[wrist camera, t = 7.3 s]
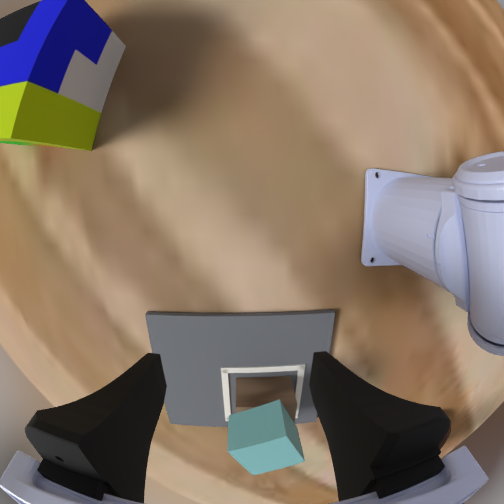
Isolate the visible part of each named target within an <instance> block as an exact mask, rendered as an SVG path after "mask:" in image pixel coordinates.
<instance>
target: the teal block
mask: <svg viewBox="0 0 504 504" xmlns="http://www.w3.org/2000/svg"><path fill="white" fill-rule="evenodd" d="M228 452H229V453H230V454H231V455H232V456H233V457H234V458H235V459H236V460H237V461H238V462H239V463H240V464H241V465H242V466H243V467H244V468H245V469H247V470H248V471H249V472H250V473H251V474H252V475H256V474H260V473H265V472H269V471H273V470H277V469H281V468H284V467H288V466H291V465H295V464H298V463H301V462H304V461H305V460H304V455H303V451H302V446H301V442H300V438H299V433H298V429H297V427H296V425H295V423H294V422H293V420H292V419H291V417H290V415H289V414H288V412H287V411H286V409H285V407H284V406H283V404H282V402H281V401H280V399H279V400H276V401H273V402H270V403H267V404H264V405H261V406H258V407H255V408H252V409H249V410H245V411H242V412H239V413H235V414H232V415H229V421H228Z"/></svg>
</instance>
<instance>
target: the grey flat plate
mask: <svg viewBox="0 0 504 504" xmlns="http://www.w3.org/2000/svg"><path fill="white" fill-rule="evenodd" d="M145 315H146V321H147V327H148V332H149V338H150V343H151V348H152V353H155V354H160V356H161V361H162V366H163V371H164V375H165V380H166V384H167V388H166V394H165V399H164V403H165V406H166V410H167V413H168V417H169V420H170V423H171V424H181V425H194V426H214V427H228V421H229V415H232V414H235V413H236V378H243V377H274V376H290V377H291V381H292V385H293V389H294V393H295V397H296V401H297V410H296V417H295V424H299V423H308V422H316V418H317V411H316V409H315V406H314V403H313V400H312V396H311V391H310V386H309V382H310V375H311V368H312V361H313V354H314V352H322V351H327V352H328V353H329V351H330V345H331V339H332V332H333V325H334V317H335V312H334V310H316V311H297V312H269V313H175V312H148V311H147V313H146V314H145Z"/></svg>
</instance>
